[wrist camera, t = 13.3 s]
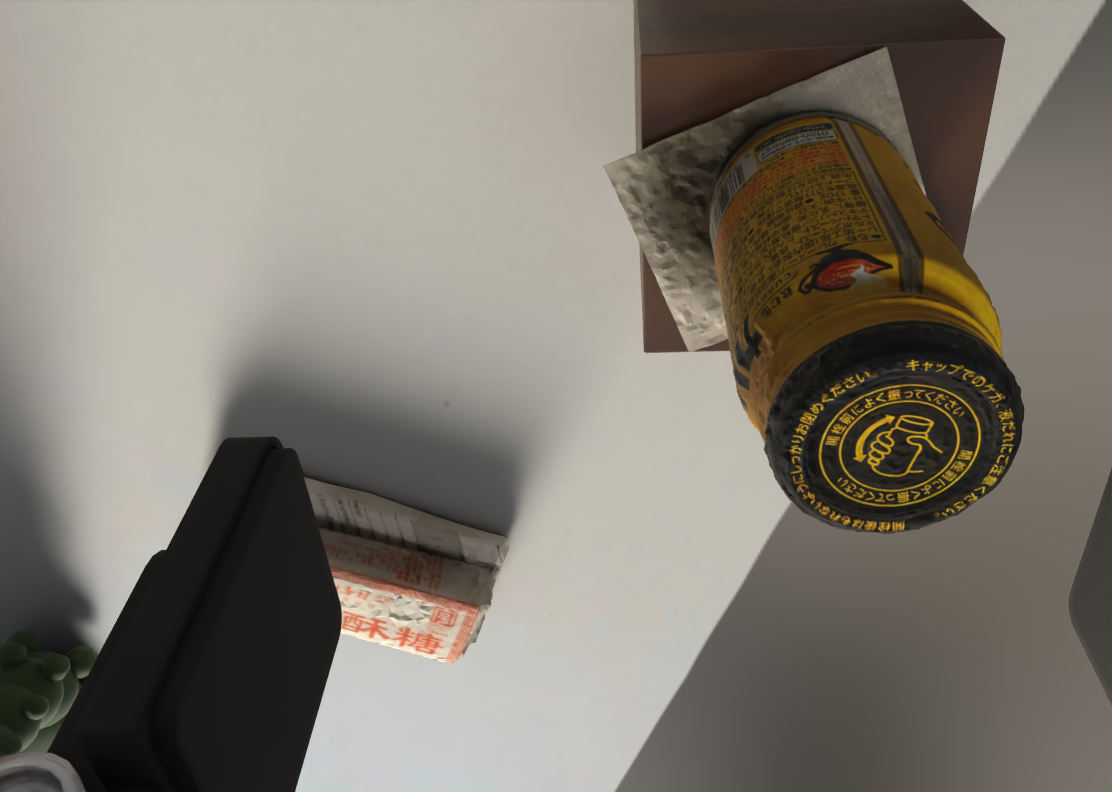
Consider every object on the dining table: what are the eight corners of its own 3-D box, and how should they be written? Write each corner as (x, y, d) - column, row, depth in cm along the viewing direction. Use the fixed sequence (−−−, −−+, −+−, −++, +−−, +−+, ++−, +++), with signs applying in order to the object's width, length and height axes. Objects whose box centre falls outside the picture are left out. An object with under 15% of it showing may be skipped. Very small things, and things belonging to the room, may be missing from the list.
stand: (632, -59, 41) (640, 55, 28) (879, -74, 40) (1006, 37, 27) (636, 169, 47) (643, 353, 33) (852, 161, 46) (946, 346, 33)
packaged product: (506, 591, 56) (458, 693, 62) (513, 532, 60) (468, 633, 66) (192, 503, 54) (172, 618, 59) (221, 447, 58) (199, 560, 63)
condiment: (943, 260, 31) (1093, 520, 21) (688, 349, 33) (718, 620, 24) (885, 43, 27) (1035, 236, 17) (603, 161, 30) (595, 389, 20)
